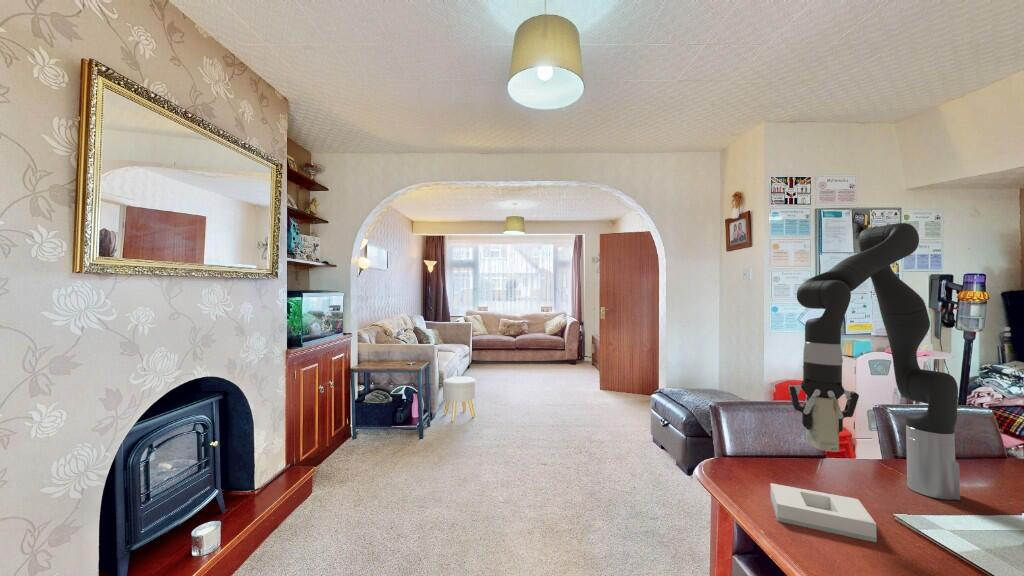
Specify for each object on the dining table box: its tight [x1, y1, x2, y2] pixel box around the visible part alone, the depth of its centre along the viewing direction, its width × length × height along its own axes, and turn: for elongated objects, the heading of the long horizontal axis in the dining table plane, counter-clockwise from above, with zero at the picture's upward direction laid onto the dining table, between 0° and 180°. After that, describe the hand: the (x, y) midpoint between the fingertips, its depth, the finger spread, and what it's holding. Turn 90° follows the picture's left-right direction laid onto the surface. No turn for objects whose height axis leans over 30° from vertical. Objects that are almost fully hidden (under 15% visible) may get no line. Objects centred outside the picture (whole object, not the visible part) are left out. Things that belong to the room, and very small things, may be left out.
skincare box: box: [805, 394, 840, 453], centre depth 97 cm, size 6×4×12 cm
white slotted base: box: [769, 482, 878, 543], centre depth 95 cm, size 18×12×4 cm, turn 63°
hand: (821, 430), depth 97 cm, fingers closed on skincare box, 5 cm apart
